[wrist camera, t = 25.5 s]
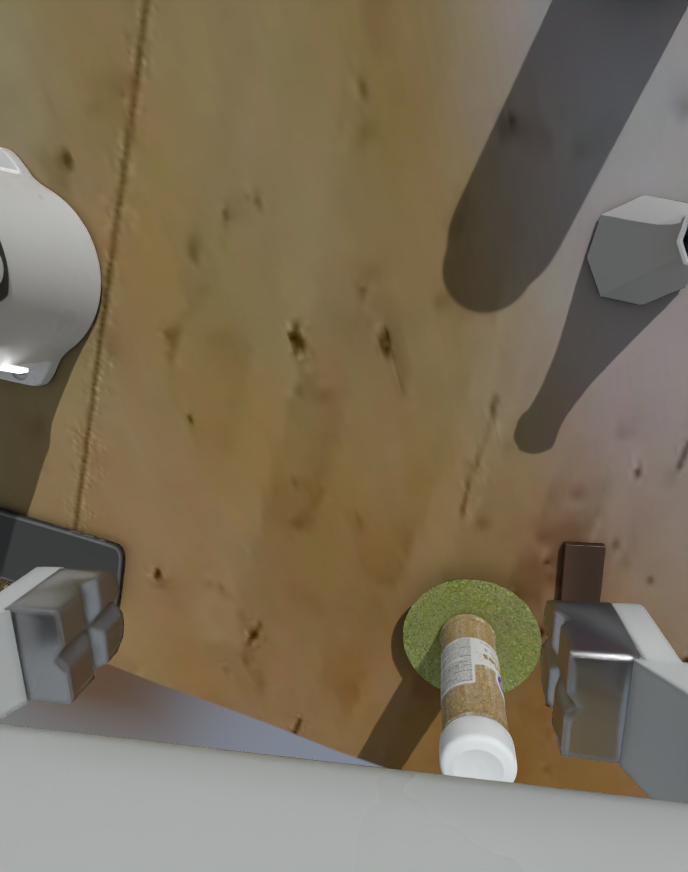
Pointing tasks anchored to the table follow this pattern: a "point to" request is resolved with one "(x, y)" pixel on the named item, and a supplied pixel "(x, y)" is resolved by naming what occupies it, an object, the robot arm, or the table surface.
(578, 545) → the walnut strip
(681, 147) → the table surface
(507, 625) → the green flat disc
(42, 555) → the smartphone
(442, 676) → the sprinkles bottle
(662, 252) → the flask
